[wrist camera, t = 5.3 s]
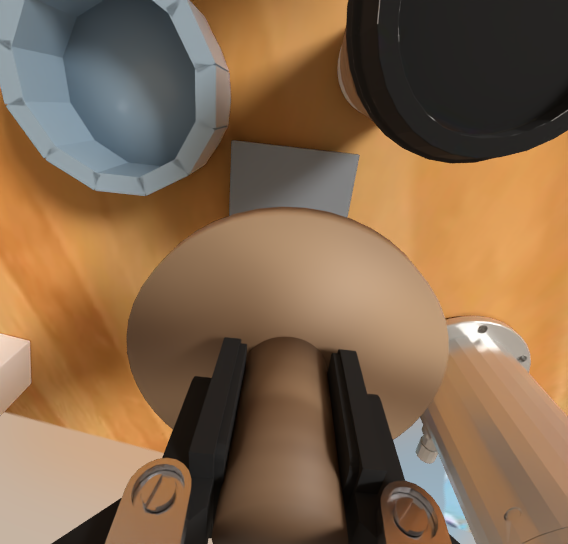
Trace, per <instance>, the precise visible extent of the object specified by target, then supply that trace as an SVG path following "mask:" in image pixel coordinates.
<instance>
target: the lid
mask: <svg viewBox="0 0 568 544" xmlns="http://www.w3.org/2000/svg"><path fill="white" fill-rule="evenodd" d="M225 337H228V338H238V339H241V343H242V344H247V355H246V366H245V372H244V377H243V382H242V387H241V393H240V398H239V403H238V408H237V413H236V419H235V424H234V429H233V434H232V440H231V445H230V450H229V455H228V460H227V466H226V471H225V476H224V481H223V484H222V487H221V489H220V494H219V499H218V505H217V510H216V515H215V520H214V525H213V530H212V542H213V544H348V532H347V524H346V517H345V509H344V501H343V494H342V487H341V479H340V471H339V463H338V455H337V447H336V439H335V431H334V423H333V415H332V407H331V399H330V391H329V383H328V375H327V372H328V367H329V362H330V358H331V354H332V353H337V351H338V349H343V350H352V351H356V353H357V356H358V360H359V364H360V368H361V371H362V375H363V379H364V383H365V387H366V391H367V394H376V395H378V396H379V397H380V399H381V402H382V405H383V409H384V412H385V415H386V419H387V422H388V425H389V429H390V432H391V435H392V439H395V438H397V437H398V436H400V435H401V434H402V433H403V432H404V431H406V430H407V429H408V428H409V427H411V426H412V425H413V424H414V423H415V421H417V419H418V418H419V417H420V416H421V415H422V414H423V413H424V412H425V410H426V409H427V408H428V406H429V405H430V403H431V402H432V401H433V399H434V397H435V395H436V393H437V391H438V389H439V388H440V386H441V383H442V380H443V377H444V374H445V371H446V366H447V360H448V354H449V336H448V331H447V325H446V320H445V316H444V314H443V311H442V308H441V306H440V303H439V301H438V299H437V297H436V295H435V294H434V292H433V290H432V288H431V287H430V285H429V283H428V282H427V281H426V280H425V278H424V277H423V276H422V275H421V273H420V272H419V271H418V269H417V268H416V267H415V266H414V265H413V263H412V262H411V261H410V260H409V258H408V257H407V256H406V255H405V254H404V253H403V252H402V251H401V250H400V249H399V248H397V247H396V246H395V245H394V244H393V243H392V242H391V241H390V240H388V239H387V238H385V237H384V236H382V235H381V234H379V233H378V232H376V231H374V230H373V229H371V228H369V227H367V226H365V225H363V224H361V223H359V222H357V221H355V220H352V219H350V218H347V217H344V216H340V215H337V214H334V213H331V212H327V211H321V210H315V209H310V208H300V207H272V208H260V209H255V210H250V211H245V212H241V213H236V214H233V215H231V216H228V217H225V218H222V219H219V220H217V221H214V222H212V223H210V224H209V225H207V226H205V227H203V228H201V229H199V230H197V231H195V232H194V233H193V234H191V235H190V236H189V237H187V238H186V239H185V240H183V241H182V242H180V243H179V244H178V245H177V246H176V247H175V248H174V249H173V250H172V251H171V252H170V253H169V254H168V255H167V256H166V257H165V258H164V259H163V260H162V261H161V263H160V264H159V265H158V266H157V267H156V268H155V269H154V271H153V272H152V273H151V275H150V276H149V277H148V279H147V280H146V281H145V283H144V284H143V286H142V287H141V289H140V291H139V293H138V295H137V297H136V299H135V301H134V303H133V307H132V310H131V313H130V317H129V320H128V329H127V354H128V359H129V363H130V368H131V371H132V374H133V376H134V379H135V381H136V384H137V386H138V388H139V390H140V391H141V393H142V395H143V397H144V398H145V400H146V401H147V402H148V404H149V405H150V406H151V408H152V409H153V410H154V412H155V413H156V414H157V415H158V416H159V417H160V418H161V419H162V420H163V421H164V422H165V423H166V424H167V425H168V426H169V427H171V428H172V429H174V426H175V423H176V421H177V418H178V416H179V413H180V410H181V408H182V405H183V402H184V400H185V397H186V394H187V392H188V389H189V387H190V384H191V381H192V379H193V378H194V376H200V377H209V378H212V375H213V372H214V369H215V366H216V362H217V359H218V356H219V353H220V350H221V346H222V343H223V340H224V338H225Z"/></svg>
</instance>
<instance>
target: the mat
mask: <svg viewBox="0 0 568 544" xmlns="http://www.w3.org/2000/svg"><path fill="white" fill-rule="evenodd" d="M359 156H360V155H358V154H350V153H341V152H333V151H324V150H315V149H306V148H298V147H289V146H280V145H271V144H262V143H254V142H245V141H236V140H232V141H231V173H230V206H229V216H231V215H233V214H236V213H241V212H245V211H250V210H255V209H260V208H272V207H300V208H310V209H315V210H321V211H327V212H331V213H334V214H337V215H340V216H344V217H347V216H348V211H349V206H350V201H351V196H352V191H353V186H354V181H355V176H356V171H357V166H358V161H359Z"/></svg>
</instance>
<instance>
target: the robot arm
mask: <svg viewBox="0 0 568 544" xmlns="http://www.w3.org/2000/svg"><path fill="white" fill-rule="evenodd" d="M446 325H447V331H448V336H449V354H448V360H447V366H446V371H445V374H444V377H443V380H442V383H441V386H440V388H439V389H438V391H437V393H436V395H435V397H434V399H433V401H432V402H431V403H430V405H429V406H428V408H427V409H426V410H425V412H424V413H423V414H422V415H421V416H420V418H421V420H422V423H423V427H422V432H423V434H424V435H423V436H422V437H421V439H420V442H419V444H418V446H417V448H416V454H417V456H418V457H419V458H420V459H421V460H422V461H424V462H425V463H429V464H430V463H433V462H434V461H435V459H436V457H437V455H438V454H439V457H440V459H441V461H442V463H443V466H444V469H445V471H446V473H447V476H448V478H449V480H450V483H451V485H452V487H453V490H454V492H455V494H456V497H457V499H458V502H459V504H460V506H461V509H462V511H463V513H464V516H465V518H466V520H467V523H468V525H469V527H470V530H471V532H472V535H473V537H474V539H475V542H476V544H568V416H567V415H566V414H565V413H564V412H563V411H562V409H561V408H560V407H559V406H558V405H557V404H556V403H555V402H554V400H553V399H552V398H551V397H550V396H549V395H548V394H547V393H546V392H545V390H544V389H543V388H542V387H541V386H540V385H539V384H538V383H537V382H536V380H535V379H534V378H533V377H532V376H531V375H530V374H529V370H530V365H531V358H530V351H529V349H528V346H527V344H526V343H525V341H524V340H523V339H522V337H521V336H520V335H519V334H518V333H517V332H516V331H515V330H513V329H512V328H511V327H510V326H508V325H506V324H505V323H503V322H501V321H498V320H495V319H492V318H488V317H482V316H461V317H456V318H450V319H446ZM246 355H247V344H242V343H241V339H238V338H228V337H225V338H224V340H223V343H222V346H221V350H220V353H219V356H218V359H217V362H216V366H215V369H214V372H213V375H212V378H209V377H200V376H194V378H193V379H192V381H191V384H190V387H189V389H188V392H187V394H186V397H185V400H184V402H183V405H182V408H181V410H180V413H179V416H178V418H177V421H176V423H175V426H174V429H173V431H172V434H171V437H170V439H169V442H168V444H167V447H166V450H165V452H164V455H163V458H161V459H156V460H154V461H151V462H149V463H147V464H145V465H144V466H142V467H141V468H140V469H138V470H137V472H136V473H135V474H134V475H133V476H132V477H131V479H130V480H129V482H128V484H127V486H126V488H125V491H124V493H123V496H122V498H121V499H119V500H118V501H116V502H114V503H113V504H111V505H110V506H108V507H107V508H105V509H104V510H102V511H101V512H99V513H98V514H96V515H95V516H93V517H92V518H90V519H88V520H87V521H85V522H84V523H82V524H81V525H79V526H78V527H76V528H75V529H73V530H72V531H70V532H69V533H67V534H66V535H64V536H63V537H61V538H59V539H58V540H57V541H55V542H53V543H52V544H208V538H212V530H213V525H214V520H215V515H216V510H217V505H218V499H219V494H220V489H221V487H222V484H223V481H224V476H225V471H226V466H227V460H228V455H229V450H230V445H231V440H232V434H233V429H234V424H235V419H236V413H237V408H238V403H239V398H240V393H241V387H242V382H243V377H244V372H245V366H246ZM327 375H328V383H329V391H330V399H331V407H332V415H333V423H334V431H335V439H336V447H337V455H338V463H339V471H340V479H341V487H342V494H343V501H344V509H345V517H346V524H347V532H348V544H460V543H459V542H458V541H456V540H455V539H454V538H453V537H452V536H451V535H450V534H449V533H448V530H447V526H446V523H445V520H444V517H443V514H442V512H441V510H440V508H439V506H438V505H437V503H436V502H435V500H434V499H433V498H432V497H431V496H430V495H429V494H428V493H427V492H426V491H425V490H424V489H422V488H421V487H419V486H417V485H416V484H414V483H410V482H407V481H405V479H404V476H403V472H402V469H401V466H400V462H399V459H398V456H397V452H396V449H395V445H394V442H393V439H392V435H391V432H390V429H389V425H388V422H387V419H386V415H385V412H384V409H383V405H382V402H381V399H380V397H379V396H378V395H376V394H367V391H366V387H365V383H364V379H363V375H362V371H361V368H360V364H359V360H358V356H357V353H356V351H352V350H343V349H338V351H337V353H332V354H331V358H330V362H329V367H328V372H327Z"/></svg>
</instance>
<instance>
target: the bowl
mask: <svg viewBox="0 0 568 544" xmlns="http://www.w3.org/2000/svg"><path fill="white" fill-rule="evenodd" d="M0 87H1V91H2V95H3V99H4V103H5V104H8V105H7V106H6V107H7V109H8V110H9V111H10V113H11V114H12V115H13V117H14V118H15V120H16V121H17V122H18V124H19V125H20V126H21V128H22V129H23V130H24V132H25V133H26V135H27V136H28V137H29V139H30V140H31V141H32V143H33V144H34V146H35V147H36V148H37V150H38V151H39V152H40V154H41V155H42V157H43V158H46V159H45V160H47V161H48V162H50V163H51V164H53V165H55V166H56V167H58V168H59V169H61V170H63V171H64V172H66V173H67V174H69V175H71V176H72V177H74V178H75V179H77V180H79V181H80V182H82V183H83V184H85V185H87V186H88V187H90V188H91V189H93V190H96V191H103V192H112V193H122V194H131V195H140V196H147V195H149V194H151V193H153V192H155V191H157V190H159V189H161V188H164V187H166V186H168V185H170V184H172V183H174V182H176V181H178V180H180V179H182V178H184V177H186V176H188V175H190V174H191V173H193V172H195V171H196V170H198V169H199V168H201V167H202V166H204V165H205V164H206V163H207V161H208V160H209V158H210V156H211V155H212V154H213V153H214V151H215V150H216V148H217V147H218V145H219V144H220V142H221V140H222V138H223V136H224V133H225V131H226V129H227V128H228V126H227V125H229V116H230V108H231V85H230V73H229V69H228V67H227V65H226V61H225V58H224V56H223V53H222V50H221V48H220V46H219V44H218V42H217V40H216V38H215V36H214V34H213V33H212V31H211V29H210V26H209V24H208V22H207V20H206V18H205V17H204V15H203V14H202V13H201V12H200V11H199V10H198V9H197V8H196V7H195V6H194V4H193V3H192V2H191V1H190V0H0Z"/></svg>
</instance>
